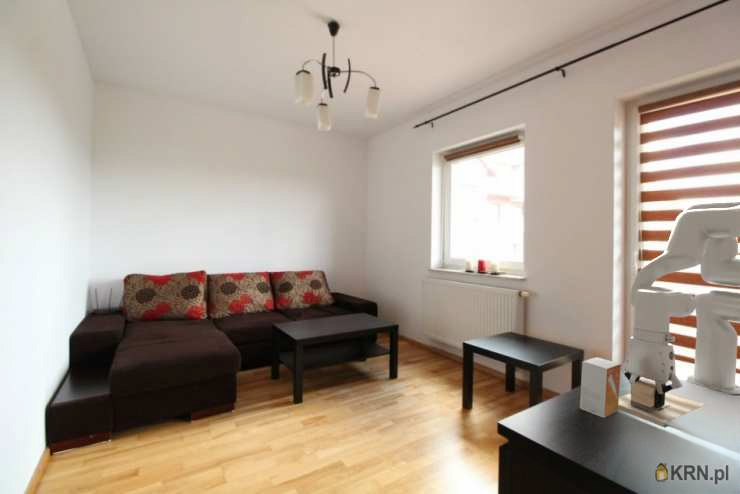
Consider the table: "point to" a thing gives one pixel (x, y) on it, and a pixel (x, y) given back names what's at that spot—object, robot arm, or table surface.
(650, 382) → the block
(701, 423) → the table surface
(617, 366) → the small box
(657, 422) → the board
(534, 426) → the table surface
